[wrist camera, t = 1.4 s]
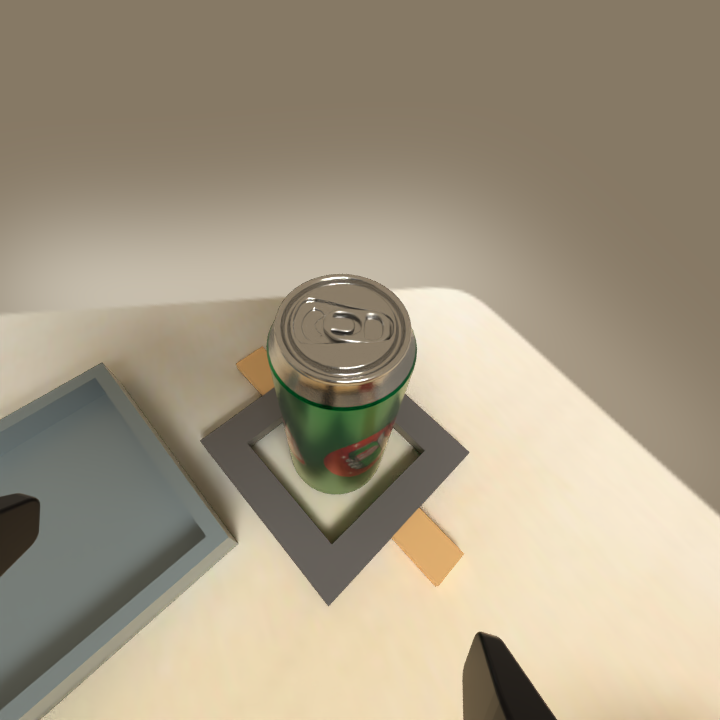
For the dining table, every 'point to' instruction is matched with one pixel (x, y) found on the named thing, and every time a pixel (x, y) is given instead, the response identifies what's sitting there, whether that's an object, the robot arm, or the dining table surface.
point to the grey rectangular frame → (375, 526)
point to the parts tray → (92, 537)
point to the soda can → (340, 376)
